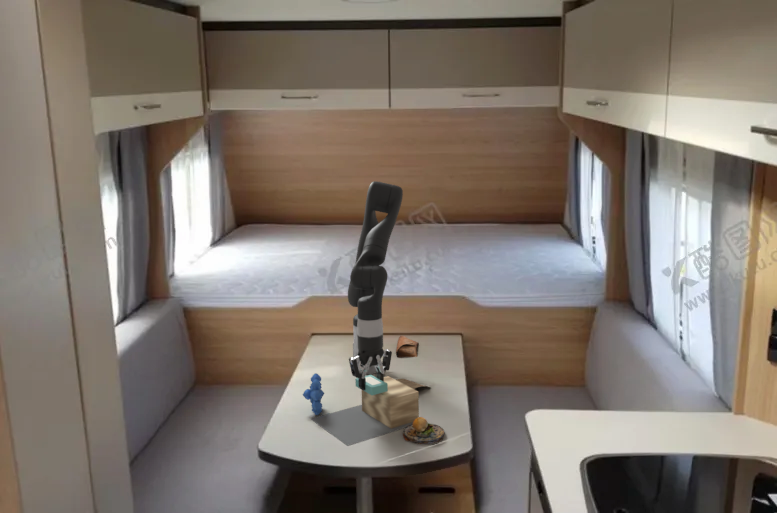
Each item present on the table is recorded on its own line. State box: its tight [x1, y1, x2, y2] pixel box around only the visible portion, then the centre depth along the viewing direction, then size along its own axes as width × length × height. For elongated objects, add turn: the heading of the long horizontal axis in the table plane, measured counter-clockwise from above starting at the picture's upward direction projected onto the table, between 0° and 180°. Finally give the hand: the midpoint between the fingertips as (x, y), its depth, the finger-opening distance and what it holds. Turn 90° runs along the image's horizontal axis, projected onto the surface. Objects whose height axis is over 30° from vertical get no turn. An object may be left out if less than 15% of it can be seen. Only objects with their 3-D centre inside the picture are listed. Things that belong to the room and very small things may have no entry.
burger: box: [402, 416, 446, 446], centre depth 197 cm, size 12×12×8 cm
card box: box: [355, 374, 388, 395], centre depth 205 cm, size 9×6×2 cm, turn 34°
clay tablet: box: [394, 378, 431, 390], centre depth 231 cm, size 16×11×3 cm
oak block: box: [361, 375, 420, 428], centre depth 210 cm, size 16×10×9 cm, turn 34°
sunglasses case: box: [395, 335, 419, 358], centre depth 273 cm, size 18×7×7 cm
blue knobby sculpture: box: [302, 373, 325, 416], centre depth 214 cm, size 12×7×12 cm, turn 6°
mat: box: [310, 404, 413, 447], centre depth 208 cm, size 22×26×1 cm
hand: (371, 387), depth 206 cm, fingers closed on card box, 5 cm apart
